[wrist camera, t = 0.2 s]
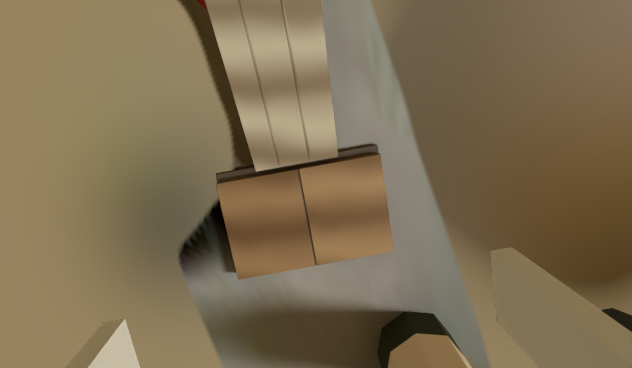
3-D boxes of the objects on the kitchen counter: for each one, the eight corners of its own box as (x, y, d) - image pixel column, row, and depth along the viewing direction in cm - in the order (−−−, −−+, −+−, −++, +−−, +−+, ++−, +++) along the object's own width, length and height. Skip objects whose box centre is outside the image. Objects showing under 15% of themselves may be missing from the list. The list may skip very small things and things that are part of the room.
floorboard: (216, 173, 40) (214, 176, 39) (376, 144, 41) (379, 146, 39) (240, 273, 43) (238, 279, 41) (390, 245, 43) (393, 250, 41)
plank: (196, -39, 28) (194, -33, 27) (311, -59, 28) (314, -54, 27) (255, 161, 40) (256, 172, 39) (335, 147, 40) (338, 157, 39)
